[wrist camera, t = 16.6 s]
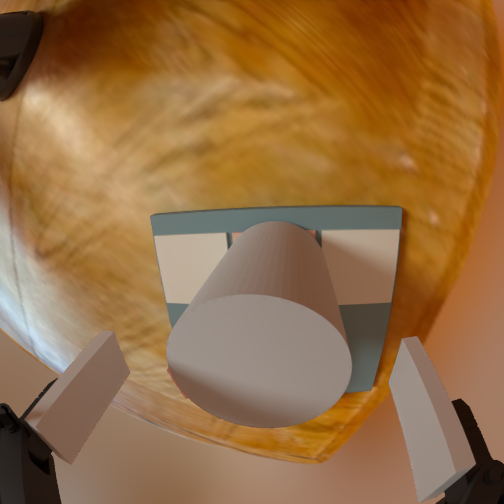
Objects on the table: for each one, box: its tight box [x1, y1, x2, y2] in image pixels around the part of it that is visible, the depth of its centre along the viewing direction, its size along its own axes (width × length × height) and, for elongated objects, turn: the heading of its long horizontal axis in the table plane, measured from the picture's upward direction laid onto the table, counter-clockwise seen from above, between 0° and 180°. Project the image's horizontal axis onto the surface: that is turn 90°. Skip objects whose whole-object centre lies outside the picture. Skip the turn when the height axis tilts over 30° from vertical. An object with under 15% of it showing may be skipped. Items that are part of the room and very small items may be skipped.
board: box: [150, 205, 402, 413], centre depth 23 cm, size 21×20×4 cm
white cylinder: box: [166, 221, 352, 428], centre depth 16 cm, size 8×8×12 cm
